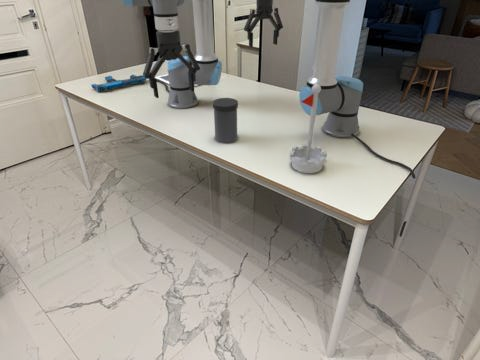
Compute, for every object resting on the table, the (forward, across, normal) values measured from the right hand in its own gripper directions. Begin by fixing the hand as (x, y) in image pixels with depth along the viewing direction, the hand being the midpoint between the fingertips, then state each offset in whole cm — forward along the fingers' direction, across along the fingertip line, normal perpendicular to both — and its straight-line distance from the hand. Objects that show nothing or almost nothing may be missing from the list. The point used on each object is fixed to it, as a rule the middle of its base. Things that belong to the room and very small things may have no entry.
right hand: (263, 45), depth 167 cm
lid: (+12, +35, +34) cm, 51 cm away
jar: (+28, +35, +34) cm, 57 cm away
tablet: (+28, +29, -53) cm, 66 cm away
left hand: (+5, +56, +36) cm, 67 cm away
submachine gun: (+28, +64, -63) cm, 94 cm away
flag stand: (+28, +18, +68) cm, 76 cm away
